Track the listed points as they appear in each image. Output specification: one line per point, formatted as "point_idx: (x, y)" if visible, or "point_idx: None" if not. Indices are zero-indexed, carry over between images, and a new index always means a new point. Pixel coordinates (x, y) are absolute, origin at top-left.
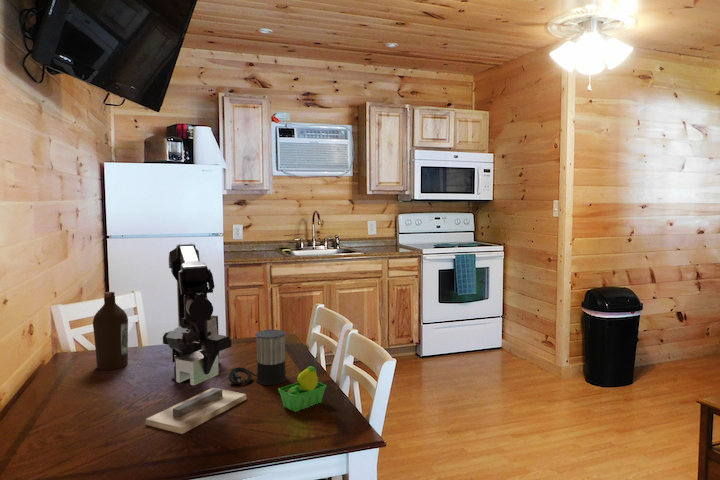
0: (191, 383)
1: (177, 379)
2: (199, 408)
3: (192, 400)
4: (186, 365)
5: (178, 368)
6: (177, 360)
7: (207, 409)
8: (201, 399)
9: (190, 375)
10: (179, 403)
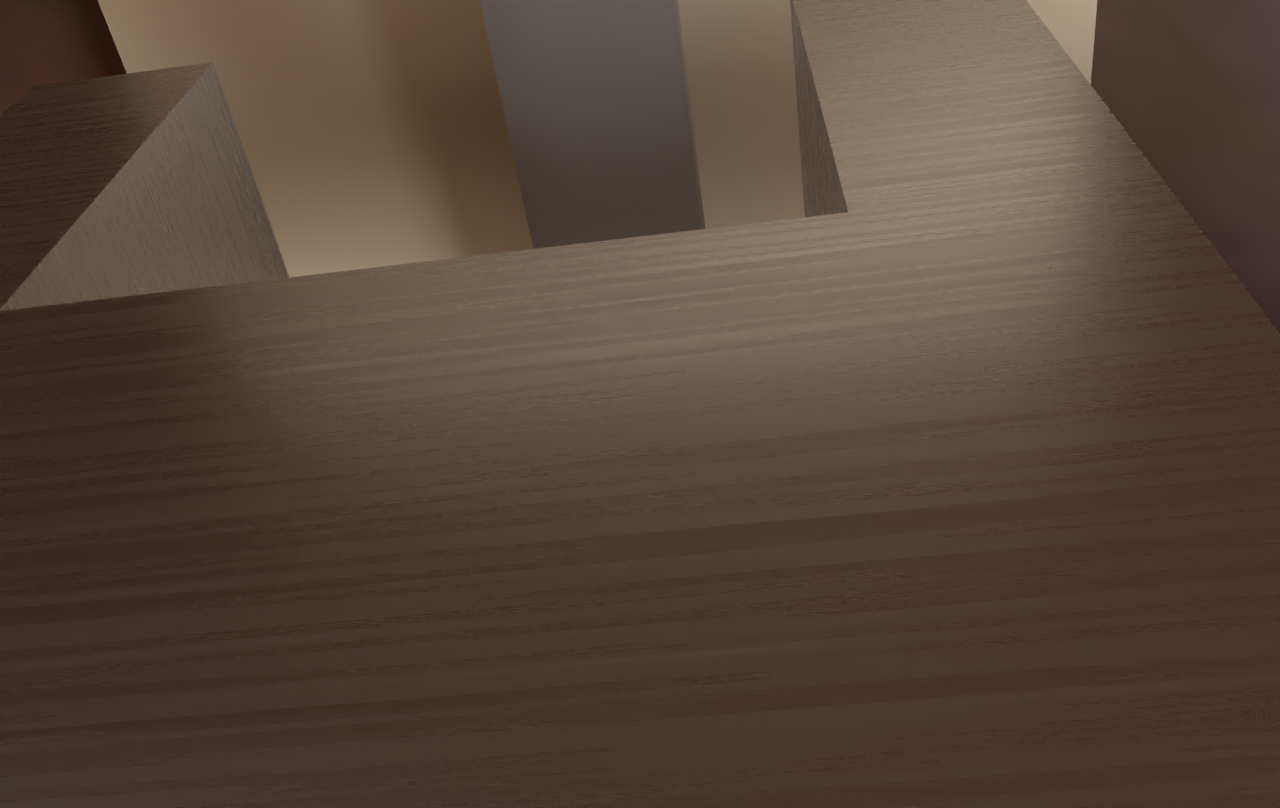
0: (133, 89)
1: (943, 7)
2: (493, 91)
3: (633, 99)
4: (72, 586)
5: (947, 284)
6: (1261, 763)
7: (322, 141)
8: (533, 247)
9: (40, 249)
10: (1079, 42)
